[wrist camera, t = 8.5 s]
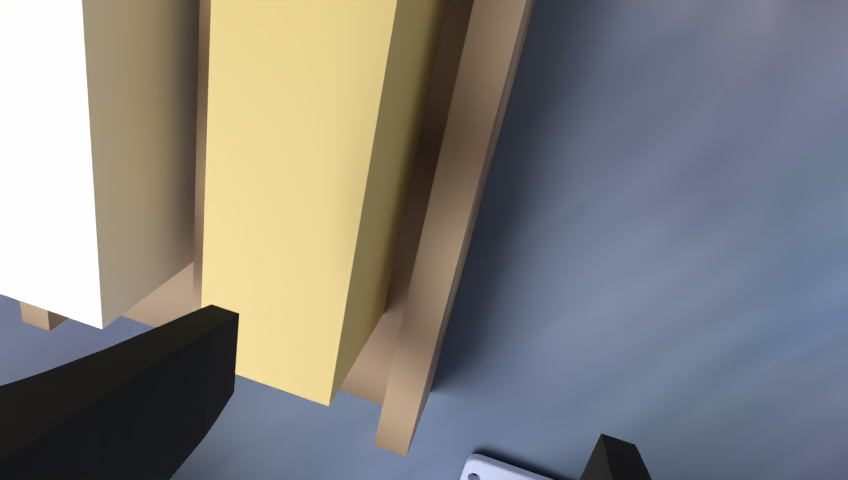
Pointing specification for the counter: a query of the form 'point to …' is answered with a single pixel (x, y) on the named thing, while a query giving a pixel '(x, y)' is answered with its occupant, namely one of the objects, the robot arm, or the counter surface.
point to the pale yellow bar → (310, 175)
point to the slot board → (423, 217)
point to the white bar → (96, 151)
